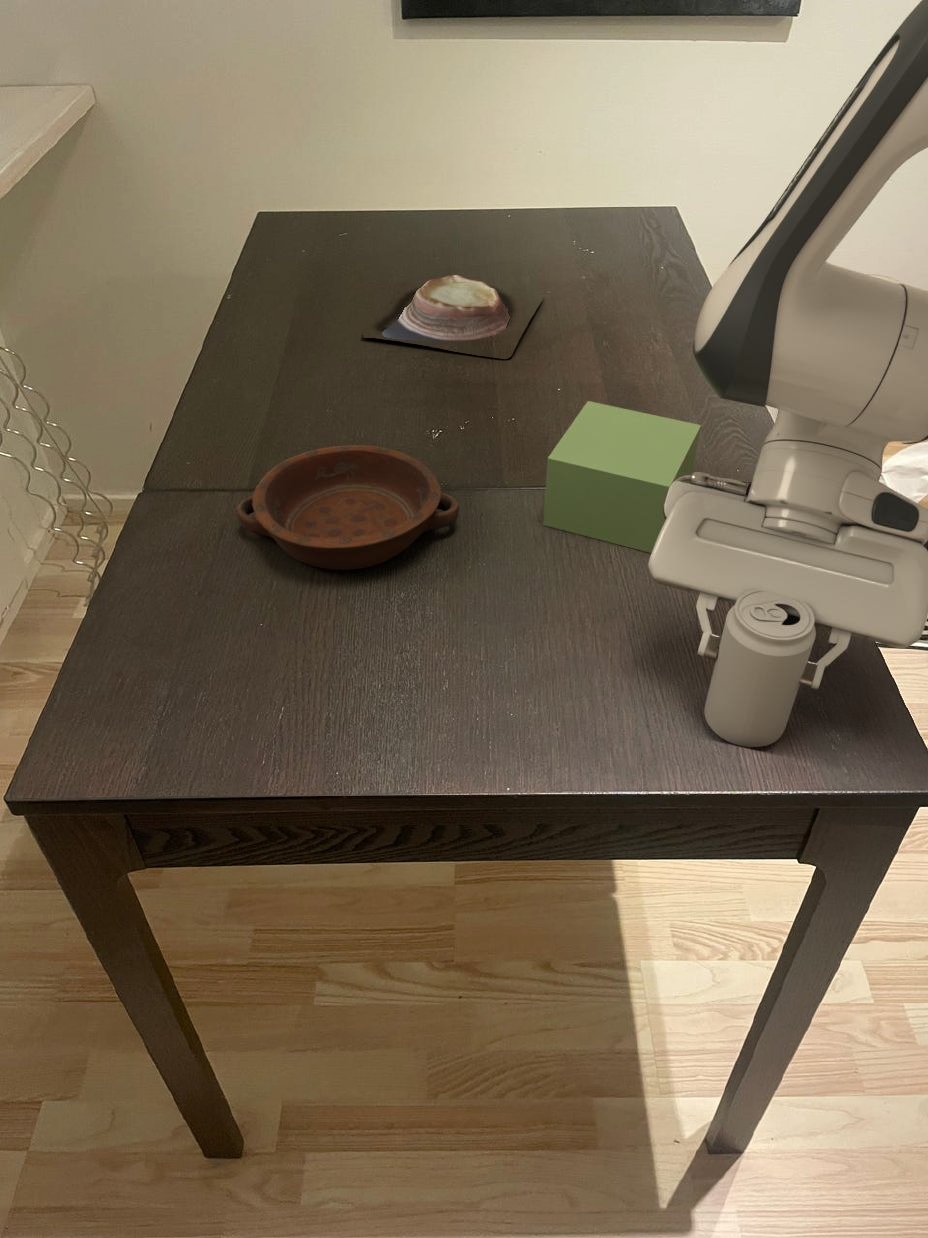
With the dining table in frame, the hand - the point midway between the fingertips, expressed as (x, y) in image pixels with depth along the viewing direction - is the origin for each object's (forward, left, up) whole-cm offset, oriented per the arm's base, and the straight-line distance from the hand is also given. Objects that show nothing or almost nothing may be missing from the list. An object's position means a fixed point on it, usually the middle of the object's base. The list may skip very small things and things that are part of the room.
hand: (756, 671), depth 72 cm
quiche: (+45, -65, -7) cm, 79 cm away
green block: (+15, -27, -6) cm, 32 cm away
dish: (+40, -15, -7) cm, 43 cm away
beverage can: (0, -1, -7) cm, 7 cm away
